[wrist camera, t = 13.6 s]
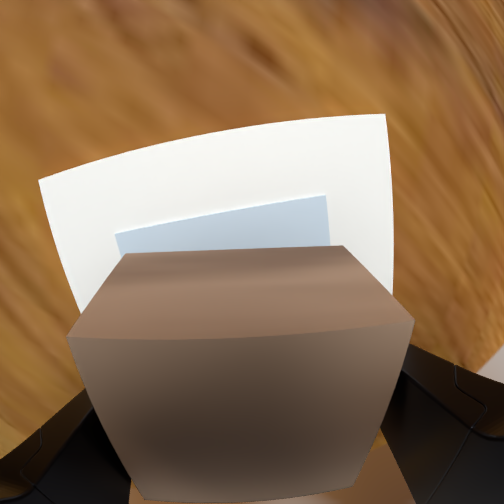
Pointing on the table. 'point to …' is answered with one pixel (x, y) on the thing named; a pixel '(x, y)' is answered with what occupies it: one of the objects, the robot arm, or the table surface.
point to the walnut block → (241, 369)
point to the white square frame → (229, 197)
